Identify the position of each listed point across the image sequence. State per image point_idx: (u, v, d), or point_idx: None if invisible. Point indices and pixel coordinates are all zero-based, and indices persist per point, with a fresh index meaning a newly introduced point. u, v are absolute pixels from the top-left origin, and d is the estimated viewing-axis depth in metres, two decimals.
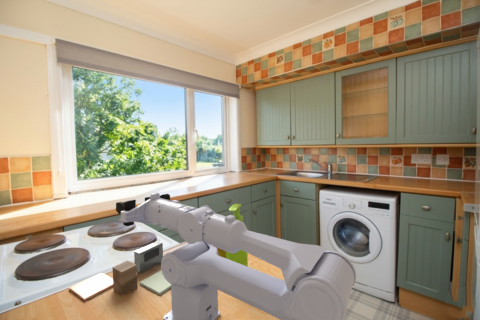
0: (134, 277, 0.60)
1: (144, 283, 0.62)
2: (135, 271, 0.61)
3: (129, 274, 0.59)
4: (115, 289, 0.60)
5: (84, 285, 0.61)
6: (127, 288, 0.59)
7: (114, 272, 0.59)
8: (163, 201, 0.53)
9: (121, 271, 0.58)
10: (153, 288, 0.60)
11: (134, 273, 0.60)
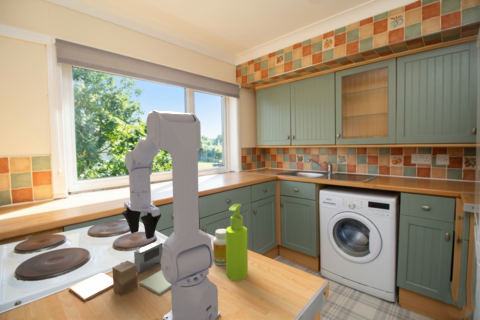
0: (134, 277, 0.60)
1: (144, 283, 0.62)
2: (135, 271, 0.61)
3: (128, 274, 0.59)
4: (115, 289, 0.60)
5: (84, 285, 0.61)
6: (127, 288, 0.59)
7: (114, 272, 0.59)
8: None
9: (121, 271, 0.58)
10: (153, 288, 0.60)
11: (134, 273, 0.60)
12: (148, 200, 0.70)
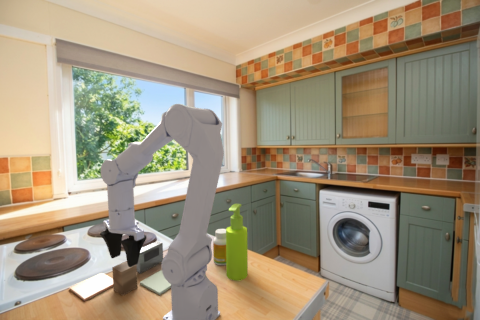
0: (134, 277, 0.60)
1: (144, 283, 0.62)
2: (135, 271, 0.61)
3: (128, 274, 0.59)
4: (115, 289, 0.60)
5: (84, 285, 0.61)
6: (127, 288, 0.59)
7: (114, 272, 0.59)
8: None
9: (121, 271, 0.58)
10: (153, 288, 0.60)
11: (134, 273, 0.60)
12: (130, 219, 0.58)
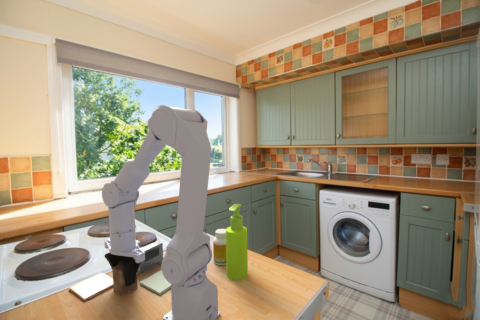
0: None
1: (144, 283, 0.62)
2: None
3: None
4: (115, 289, 0.60)
5: (84, 285, 0.61)
6: (127, 288, 0.59)
7: (114, 272, 0.59)
8: None
9: (121, 271, 0.58)
10: (153, 288, 0.60)
11: None
12: (131, 241, 0.59)
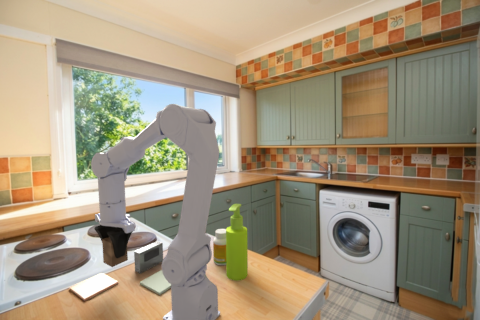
0: None
1: (144, 283, 0.62)
2: None
3: None
4: (105, 261, 0.59)
5: (84, 285, 0.61)
6: (117, 260, 0.59)
7: (104, 244, 0.59)
8: None
9: (111, 242, 0.57)
10: (153, 288, 0.60)
11: None
12: (121, 213, 0.58)
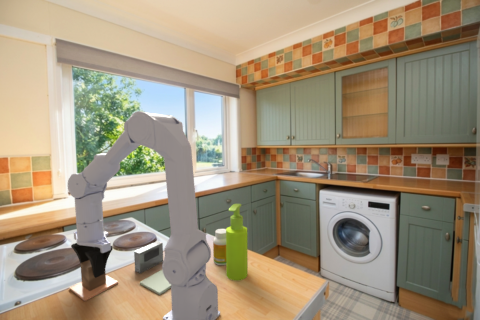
0: None
1: (144, 283, 0.62)
2: None
3: None
4: (83, 285, 0.60)
5: None
6: (94, 284, 0.60)
7: (82, 268, 0.60)
8: None
9: (88, 267, 0.59)
10: (153, 288, 0.60)
11: None
12: (98, 232, 0.59)
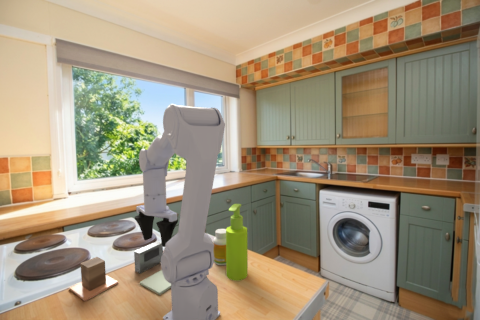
0: (102, 273, 0.61)
1: (144, 283, 0.62)
2: (103, 267, 0.61)
3: (96, 270, 0.60)
4: (83, 285, 0.60)
5: None
6: (94, 284, 0.60)
7: (82, 268, 0.60)
8: None
9: (88, 267, 0.59)
10: (153, 288, 0.60)
11: (102, 269, 0.61)
12: (164, 204, 0.64)
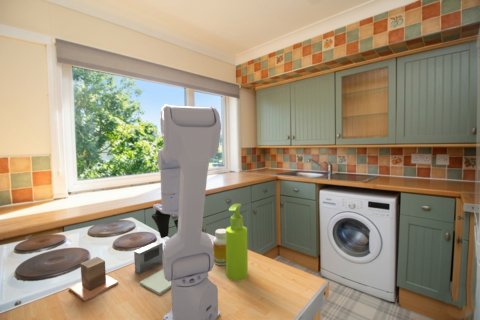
0: (102, 273, 0.61)
1: (144, 283, 0.62)
2: (103, 267, 0.61)
3: (96, 270, 0.60)
4: (83, 285, 0.60)
5: None
6: (94, 284, 0.60)
7: (82, 268, 0.60)
8: None
9: (88, 267, 0.59)
10: (153, 288, 0.60)
11: (102, 269, 0.61)
12: None
